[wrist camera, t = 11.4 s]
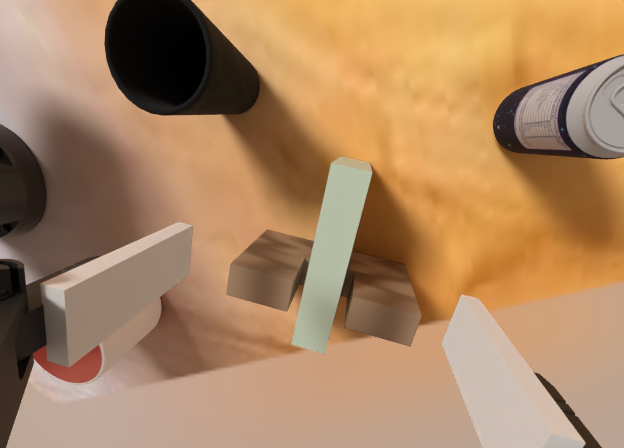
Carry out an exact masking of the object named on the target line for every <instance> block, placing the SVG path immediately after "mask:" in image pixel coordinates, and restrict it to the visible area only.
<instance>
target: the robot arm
mask: <svg viewBox="0 0 624 448" xmlns="http://www.w3.org/2000/svg"><path fill="white" fill-rule="evenodd" d="M44 207H45V187H44V182H43V178H42V175H41V172H40V169H39V167H38V165H37V163H36V161H35V159H34V157H33V156H32V154H31V152H30V151H29V150H28V148H27V147H26V146H25V144H24V143H23V142H22V141H21V140H20V139H19V138H18V137H17V136H16V135H15V134H14V133H12V132H11V131H10V130H8V129H7V128H6V127H4V126H2V125H0V239H1V238H7V237H11V236H14V235H18V234H22V233H25V232H27V231H29V230H31V229H32V228H33V227H34V226H35V225H36V224H37V223H38V222H39V220H40V219H41V217H42V214H43V211H44ZM192 231H193V225H189V224H185V223H181V222H177V223H175V224H173V225H171V226H168V227H166V228H164V229H162V230H159V231H157V232H155V233H153V234H150V235H148V236H146V237H144V238H141V239H139V240H137V241H135V242H132V243H130V244H128V245H126V246H123V247H121V248H119V249H117V250H114V251H112V252H110V253H108V254H106V255H102V256H97V257H93V258H88V259H86V260H83V261H81V262H79V263H76V264H74V266H69V267H67V268H65V269H63V271H61V270H60V271H58V272H56V273H53V274H51V275H49V276H46V277H44V278H42V279H39V280H37V281H35V282H32V283H30V284H28V285H26V281H25V271H24V264H23V263H21V262H20V261H17V260H12V259H0V448H6V446H7V443H8V439H9V436H10V433H11V430H12V427H13V424H14V421H15V418H16V415H17V412H18V409H19V406H20V403H21V400H22V397H23V394H24V391H25V388H26V385H27V382H28V379H29V376H30V373H31V370H32V367H33V364H34V355H33V353H34V352H36V351H38V350H39V349H41V348H42V347H44V346H45V345H46V354H47V361H50V362H53V363H56V364H59V365H62V366H65V367H68V368H69V367H71V366H72V365H73V364H74V363H76V362H77V361H78V360H80V359H81V358H82V357H83V356H85V355H86V354H87V353H89V352H90V351H91V350H92V349H94V348H95V347H96V346H98V345H99V344H100V343H101V342H103V341H104V340H105V339H107V338H108V337H109V336H110V335H112V334H113V333H114V332H116V331H117V330H118V329H119V328H121V327H122V326H123V325H125V324H126V323H127V322H128V321H130V320H131V319H132V318H134V317H135V316H136V315H137V314H139V313H140V312H141V311H143V310H144V309H145V308H146V307H148V306H149V305H150V304H152V303H153V302H154V301H155V300H157V299H158V298H159V297H161V296H162V295H163V294H164V293H166V292H167V291H168V290H170V289H171V288H172V287H173V286H175V285H176V284H177V283H179V282H180V281H181V280H182V279H184V278H185V277H186V276H188V275H189V267H190V255H191V243H192ZM441 344H442V346H443V349H444V352H445V354H446V357H447V359H448V362H449V364H450V367H451V369H452V372H453V374H454V377H455V380H456V382H457V385H458V387H459V390H460V392H461V395H462V397H463V400H464V402H465V405H466V407H467V410H468V413H469V415H470V417H471V420H472V423H473V425H474V428H475V430H476V433H477V435H478V438H479V440H480V443H481V445H482V448H602V447H601V446H600V445H599V444H598V442H597V441H596V440H595V438H594V437H593V436H592V435H591V434H590V432H589V431H588V429H587V428H586V427H585V426H584V425H583V423H582V422H581V420H580V419H579V418H578V417H577V416H575V413H574V411H573V410H572V409H571V408H570V407H569V405H568V404H566V401H565V400H564V399H563V397H562V396H561V395H560V394H559V392H558V391H557V390H556V389H555V388H554V386H552V385H551V384H550V383H549V382H548V381H547V380H546V379H544V378H543V377H542V376H541V375H540V374H538V373H534V372H533V371H532V370H531V369H530V367H529V366H528V364H527V363H526V362H525V360H524V359H523V358H522V357H521V355H520V354H519V353H518V351H517V350H516V348H515V347H514V346H513V344H512V343H511V342H510V340H509V339H508V337H507V336H506V335H505V333H504V332H503V331H502V329H501V328H500V327H499V325H498V324H497V323H496V321H495V320H494V319H493V317H492V316H491V315H490V313H489V312H488V311H487V309H486V308H485V306H484V305H483V304H482V302H481V301H480V300H479V299H478V298H474V297H470V296H466V295H461V297H460V299H459V302H458V304H457V307H456V309H455V312H454V314H453V317H452V319H451V321H450V324H449V326H448V329H447V331H446V334H445V336H444V339H443V341H442V343H441Z"/></svg>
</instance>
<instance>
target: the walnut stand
mask: <svg viewBox="0 0 624 448" xmlns="http://www.w3.org/2000/svg"><path fill="white" fill-rule="evenodd" d="M313 244H314V241H310V240H306V239H302V238H298V237H294V236H291V235H287V234H283V233H279V232H275V231H271V230H266V231H265V232H264V233H263V234H262V235H261V236H260V237H259V238H258V239H257V240H256V241H254V242H253V243H252V244H251V245H250V246H249V247H248V248H247V249H246V250H245V251H244V252H243V253H242V254H240V255H239V256H238V257H237V258H236V259H235V260H234V261H233V262H232V263H231V264H230V271H229V278H228V286H227V293H226V295H229V296H233V297H236V298H240V299H243V300H247V301H251V302H254V303H258V304H261V305H265V306H268V307H272V308H275V309H279V310H283V311H286V312H287V311H288V308H289V306H290V304H291V302H292V299H293V297H294V295H295V293H296V290H297V288H298V286H299V285H303V286H304V285H305V280H306V276H307V271H308V266H309V262H310V257H311V253H312V248H313ZM340 296H344V297H347V307H346V317H345V327H344V328H347V329H350V330H354V331H357V332H361V333H364V334H368V335H371V336H375V337H379V338H382V339H386V340H389V341H393V342H396V343H400V344H403V345H407V346H411V344H412V341H413V338H414V336H415V333H416V330H417V328H418V325H419V322H420V319H421V317H422V314H421V311H420V308H419V305H418V302H417V299H416V296H415V294H414V291H413V288H412V285H411V282H410V279H409V276H408V273H407V270H406V267H405V264H401V263H397V262H393V261H389V260H385V259H381V258H377V257H373V256H369V255H365V254H361V253H357V252H354V251H352V252H351V256H350V260H349V263H348V267H347V271H346V275H345V279H344V282H343V286H342V290H341V294H340Z"/></svg>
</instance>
